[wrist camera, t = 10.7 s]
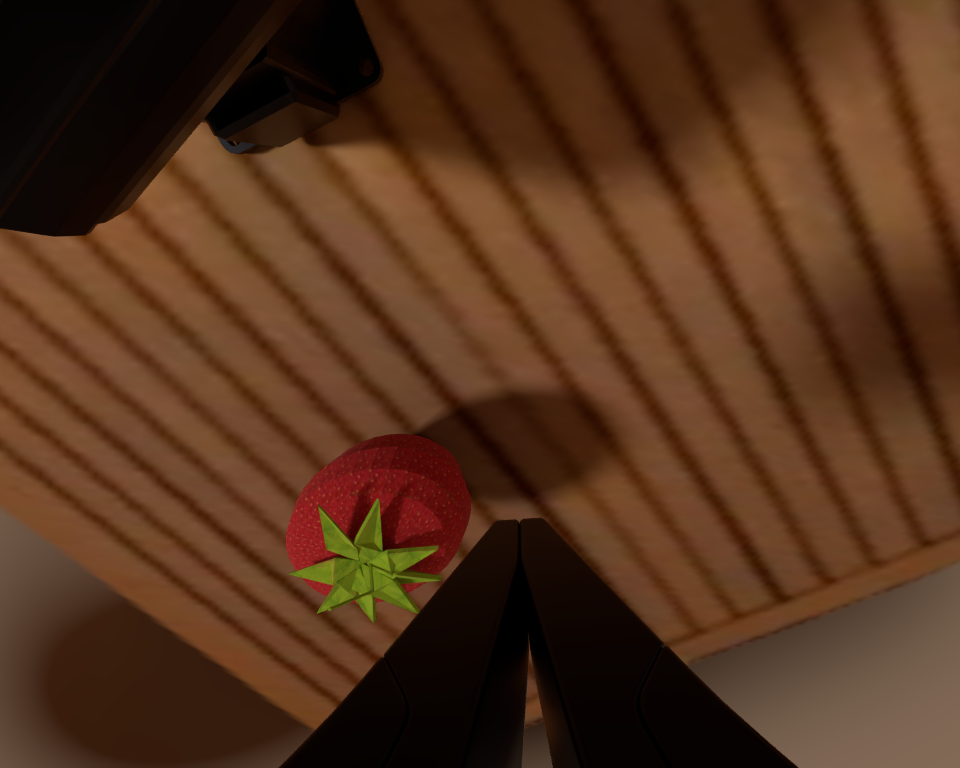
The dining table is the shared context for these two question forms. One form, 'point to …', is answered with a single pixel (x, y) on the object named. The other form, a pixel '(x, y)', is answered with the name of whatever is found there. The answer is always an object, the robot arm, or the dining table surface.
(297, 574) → the strawberry
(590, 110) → the dining table surface
